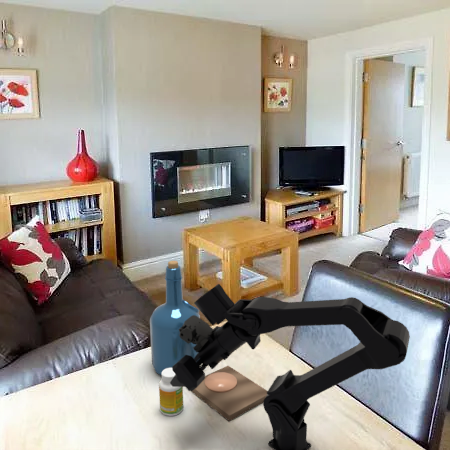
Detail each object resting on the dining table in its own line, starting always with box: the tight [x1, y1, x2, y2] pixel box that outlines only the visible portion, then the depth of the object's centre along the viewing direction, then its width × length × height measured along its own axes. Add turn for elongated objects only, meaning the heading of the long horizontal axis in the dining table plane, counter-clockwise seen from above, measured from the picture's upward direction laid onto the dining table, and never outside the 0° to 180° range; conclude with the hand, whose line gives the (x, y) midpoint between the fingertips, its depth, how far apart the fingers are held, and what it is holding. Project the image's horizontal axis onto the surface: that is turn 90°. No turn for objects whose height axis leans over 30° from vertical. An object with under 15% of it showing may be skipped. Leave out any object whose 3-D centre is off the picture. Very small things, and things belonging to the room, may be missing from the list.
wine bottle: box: [149, 260, 201, 376], centre depth 122 cm, size 14×13×30 cm
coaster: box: [205, 372, 237, 392], centre depth 115 cm, size 8×8×1 cm
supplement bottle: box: [158, 368, 184, 417], centre depth 106 cm, size 5×5×10 cm
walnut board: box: [190, 365, 268, 422], centre depth 113 cm, size 16×13×2 cm
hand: (182, 373), depth 104 cm, fingers open, 9 cm apart
